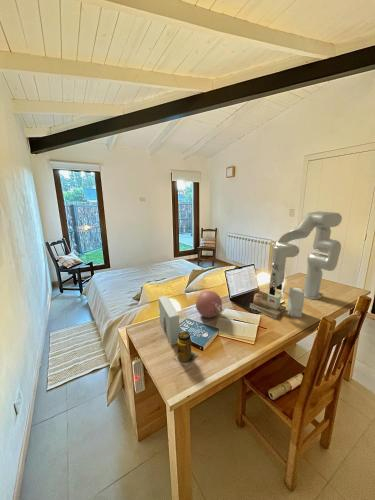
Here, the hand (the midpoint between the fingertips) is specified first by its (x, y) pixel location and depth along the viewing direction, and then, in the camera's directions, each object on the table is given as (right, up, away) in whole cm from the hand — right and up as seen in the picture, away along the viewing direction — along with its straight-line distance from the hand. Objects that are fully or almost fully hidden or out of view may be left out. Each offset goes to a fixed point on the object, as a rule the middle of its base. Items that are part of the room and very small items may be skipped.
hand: (275, 291), depth 131 cm
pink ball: (-41, -14, -6) cm, 44 cm away
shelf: (-3, -12, +4) cm, 13 cm away
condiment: (-55, -22, -36) cm, 70 cm away
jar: (-10, -9, +5) cm, 14 cm away
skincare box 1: (-64, -18, -19) cm, 69 cm away
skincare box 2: (+11, -13, -1) cm, 17 cm away
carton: (-1, -10, +3) cm, 10 cm away
